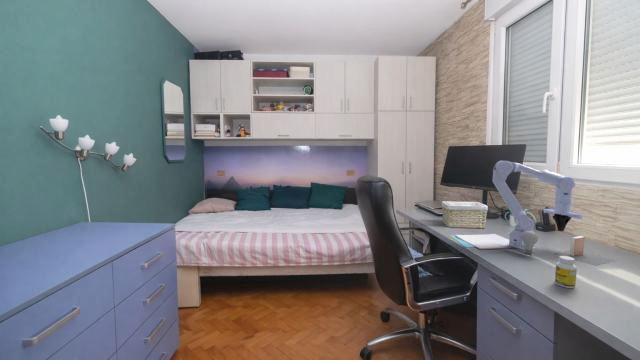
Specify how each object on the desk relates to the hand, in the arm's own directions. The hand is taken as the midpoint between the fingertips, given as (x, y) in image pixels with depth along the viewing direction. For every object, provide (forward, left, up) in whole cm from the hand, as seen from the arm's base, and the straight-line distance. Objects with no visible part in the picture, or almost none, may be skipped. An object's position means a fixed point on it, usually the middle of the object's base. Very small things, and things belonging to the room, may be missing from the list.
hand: (560, 230), depth 132 cm
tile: (-1, -7, -9) cm, 11 cm away
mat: (-1, -10, -10) cm, 14 cm away
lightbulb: (-19, +2, -10) cm, 21 cm away
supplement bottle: (-39, -23, -10) cm, 46 cm away
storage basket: (-2, +54, -10) cm, 55 cm away
